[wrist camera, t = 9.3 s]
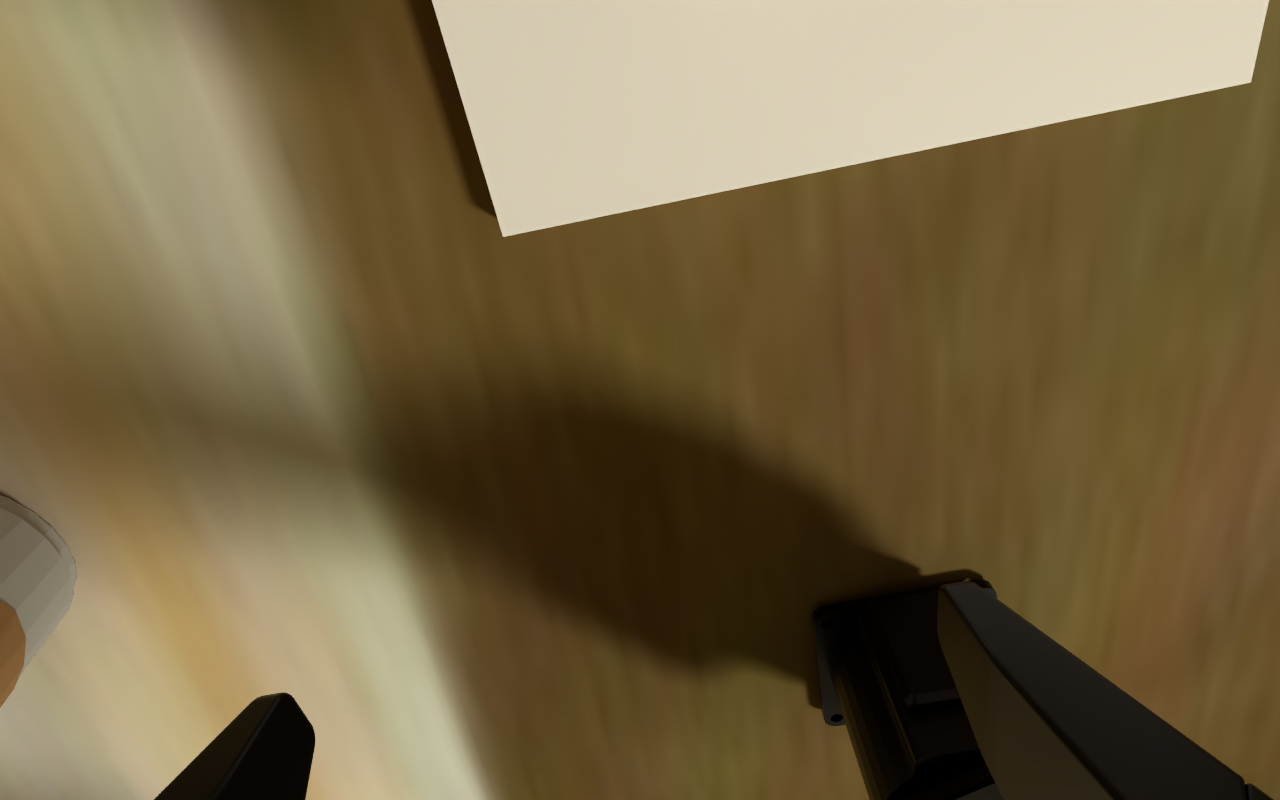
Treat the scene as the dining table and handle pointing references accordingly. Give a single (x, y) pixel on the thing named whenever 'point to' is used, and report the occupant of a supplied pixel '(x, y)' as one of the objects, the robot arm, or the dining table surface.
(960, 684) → the robot arm
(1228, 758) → the dining table surface
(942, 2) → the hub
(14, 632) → the coffee cup
